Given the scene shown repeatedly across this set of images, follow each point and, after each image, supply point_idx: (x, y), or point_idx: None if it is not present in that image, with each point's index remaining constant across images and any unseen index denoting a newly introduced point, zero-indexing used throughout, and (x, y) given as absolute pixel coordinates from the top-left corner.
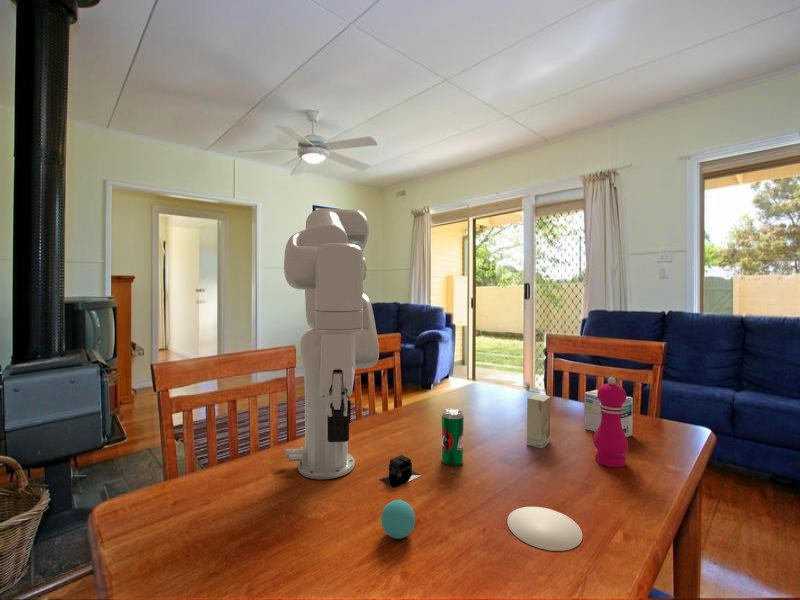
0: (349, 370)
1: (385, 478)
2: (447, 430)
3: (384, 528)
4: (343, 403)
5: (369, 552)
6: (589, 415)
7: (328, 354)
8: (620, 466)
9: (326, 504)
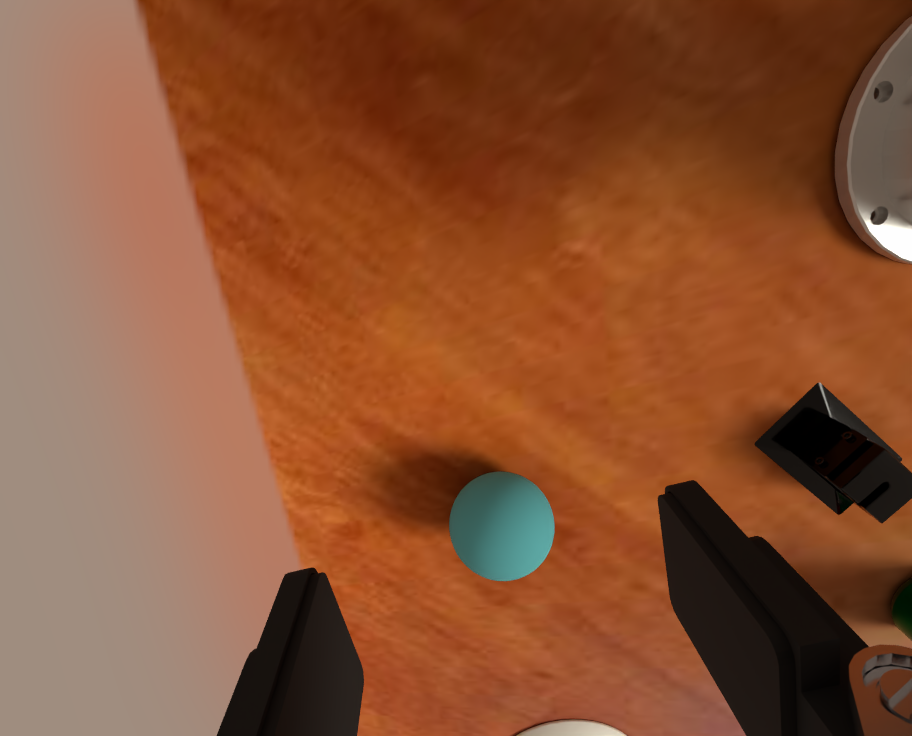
0: None
1: (821, 406)
2: None
3: (465, 488)
4: (774, 731)
5: (413, 438)
6: None
7: None
8: None
9: (647, 238)
